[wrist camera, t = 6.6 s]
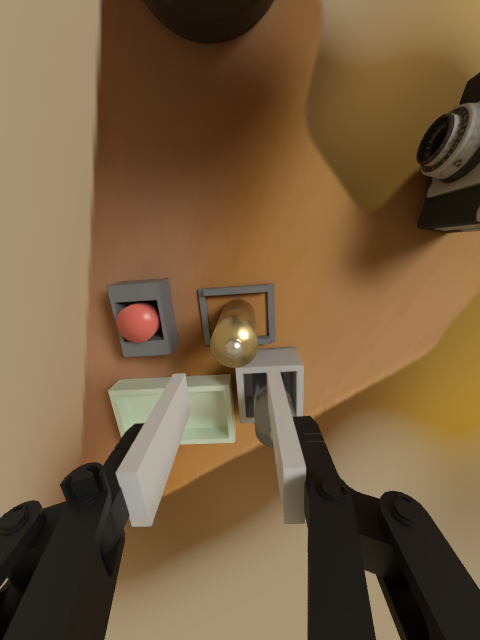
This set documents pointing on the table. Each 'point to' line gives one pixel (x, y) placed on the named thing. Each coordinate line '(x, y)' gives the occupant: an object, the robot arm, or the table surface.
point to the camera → (453, 166)
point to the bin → (266, 359)
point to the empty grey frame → (239, 290)
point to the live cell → (235, 335)
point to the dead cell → (265, 407)
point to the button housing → (159, 291)
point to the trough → (205, 400)
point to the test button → (138, 322)
